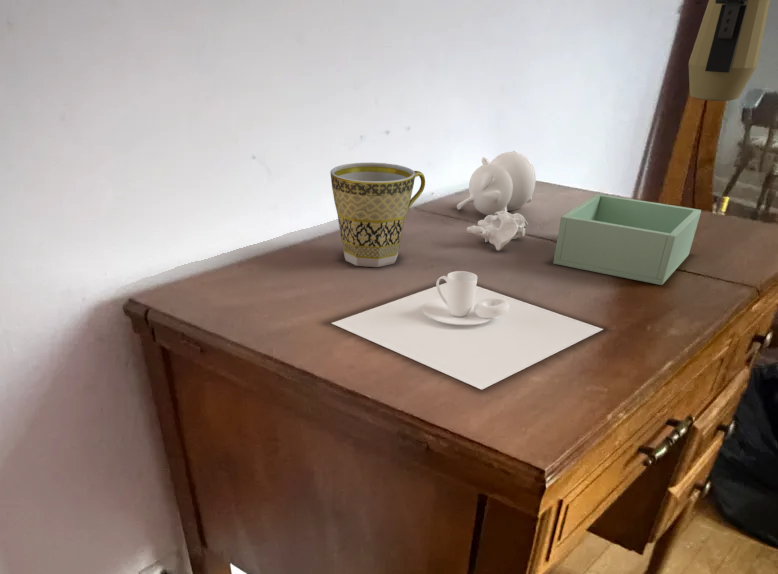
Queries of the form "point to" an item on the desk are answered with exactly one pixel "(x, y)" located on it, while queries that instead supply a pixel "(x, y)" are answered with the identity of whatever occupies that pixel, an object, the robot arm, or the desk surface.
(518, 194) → the cat figurine
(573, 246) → the bin
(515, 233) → the anatomical pelvis
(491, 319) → the teacup and saucer
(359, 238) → the ceramic cup
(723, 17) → the robot arm
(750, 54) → the squeeze bottle
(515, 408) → the desk surface
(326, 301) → the desk surface
